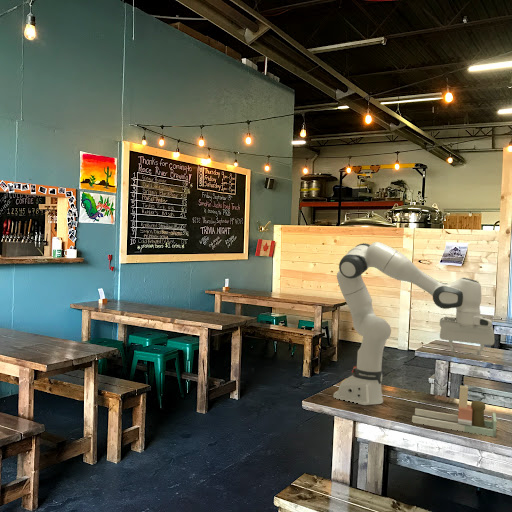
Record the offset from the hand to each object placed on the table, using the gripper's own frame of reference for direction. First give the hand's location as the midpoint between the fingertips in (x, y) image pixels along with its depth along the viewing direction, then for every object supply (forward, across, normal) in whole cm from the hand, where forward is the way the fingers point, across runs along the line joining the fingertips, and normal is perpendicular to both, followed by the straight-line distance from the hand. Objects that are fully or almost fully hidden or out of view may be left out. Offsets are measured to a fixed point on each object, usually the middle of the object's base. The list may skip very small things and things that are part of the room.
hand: (465, 353), depth 200 cm
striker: (+29, +1, -1) cm, 29 cm away
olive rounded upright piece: (+29, +6, 0) cm, 30 cm away
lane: (+29, -3, -1) cm, 29 cm away
